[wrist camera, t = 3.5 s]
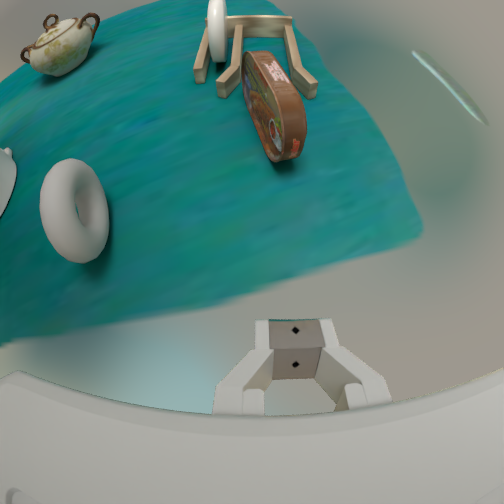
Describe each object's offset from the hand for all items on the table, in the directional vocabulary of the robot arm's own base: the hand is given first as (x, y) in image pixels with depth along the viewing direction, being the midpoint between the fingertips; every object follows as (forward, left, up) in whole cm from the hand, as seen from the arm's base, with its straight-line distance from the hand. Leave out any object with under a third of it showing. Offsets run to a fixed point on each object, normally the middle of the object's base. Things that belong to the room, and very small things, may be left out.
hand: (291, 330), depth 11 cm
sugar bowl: (-41, +50, -13) cm, 66 cm away
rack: (-2, +38, -13) cm, 40 cm away
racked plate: (-7, +39, -13) cm, 42 cm away
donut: (-18, +10, -13) cm, 25 cm away
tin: (0, +23, -14) cm, 27 cm away
